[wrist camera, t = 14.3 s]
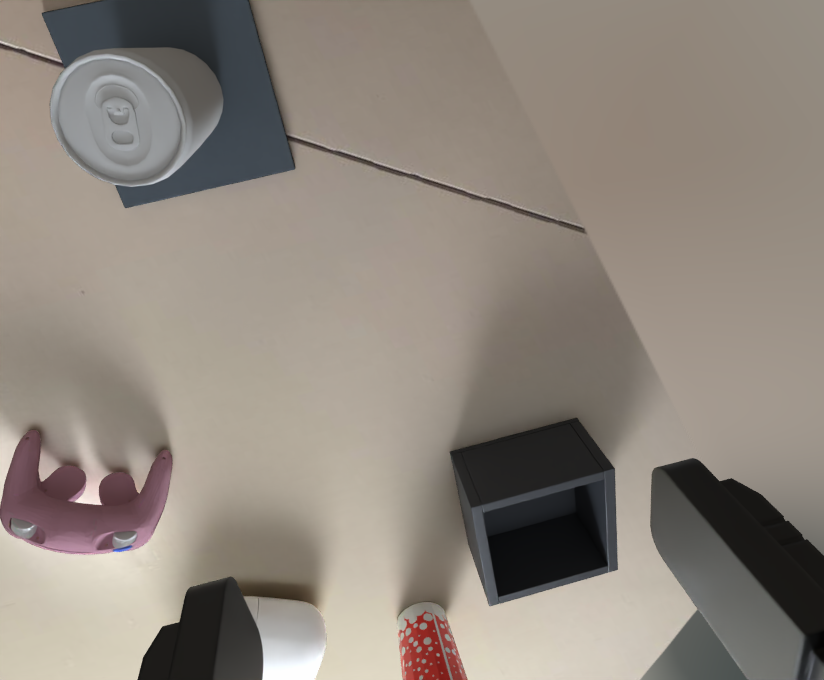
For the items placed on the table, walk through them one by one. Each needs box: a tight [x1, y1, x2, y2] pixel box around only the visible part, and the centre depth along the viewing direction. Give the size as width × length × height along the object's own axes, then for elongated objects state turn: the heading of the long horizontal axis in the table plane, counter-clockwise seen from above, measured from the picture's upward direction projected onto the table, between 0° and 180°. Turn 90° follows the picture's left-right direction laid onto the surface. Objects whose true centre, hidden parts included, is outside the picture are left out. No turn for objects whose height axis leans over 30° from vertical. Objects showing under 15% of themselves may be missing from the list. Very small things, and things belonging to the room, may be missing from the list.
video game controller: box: [0, 430, 172, 555], centre depth 39 cm, size 10×5×7 cm, turn 71°
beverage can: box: [50, 47, 223, 187], centre depth 26 cm, size 5×5×12 cm
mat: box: [42, 0, 295, 208], centre depth 32 cm, size 10×10×1 cm
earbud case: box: [243, 596, 327, 680], centre depth 49 cm, size 10×13×5 cm
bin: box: [450, 418, 618, 606], centre depth 46 cm, size 11×11×6 cm
